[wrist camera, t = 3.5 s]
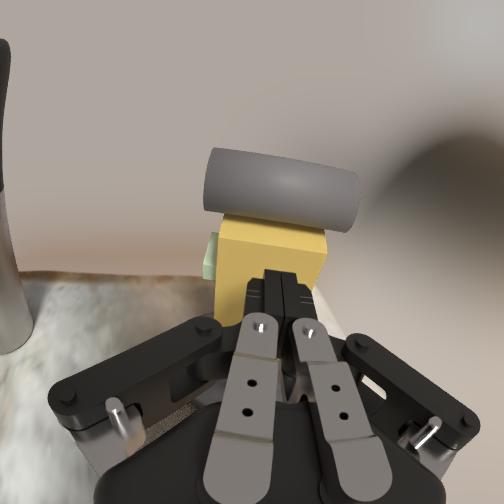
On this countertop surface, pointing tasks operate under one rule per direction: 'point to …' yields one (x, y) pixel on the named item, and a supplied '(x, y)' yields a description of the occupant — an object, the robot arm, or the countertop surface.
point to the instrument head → (271, 220)
